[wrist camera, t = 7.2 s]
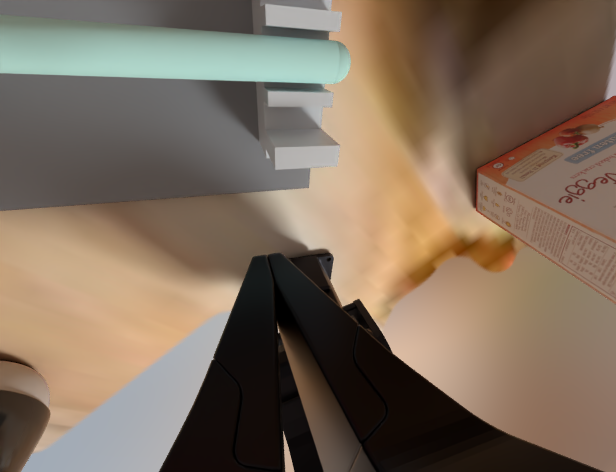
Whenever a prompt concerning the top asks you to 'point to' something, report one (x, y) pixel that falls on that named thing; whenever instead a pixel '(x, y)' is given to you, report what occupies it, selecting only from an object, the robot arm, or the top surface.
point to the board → (162, 114)
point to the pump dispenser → (21, 414)
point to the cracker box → (561, 196)
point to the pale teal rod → (164, 52)
